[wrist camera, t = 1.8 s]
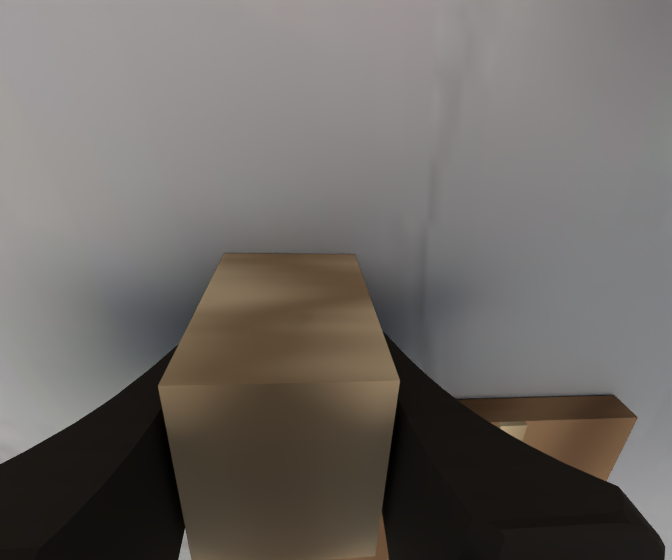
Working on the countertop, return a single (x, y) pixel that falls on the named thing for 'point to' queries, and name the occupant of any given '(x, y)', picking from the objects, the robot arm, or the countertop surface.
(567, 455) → the walnut board
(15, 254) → the countertop surface
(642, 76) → the countertop surface
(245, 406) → the pale wood holed block
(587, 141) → the countertop surface
